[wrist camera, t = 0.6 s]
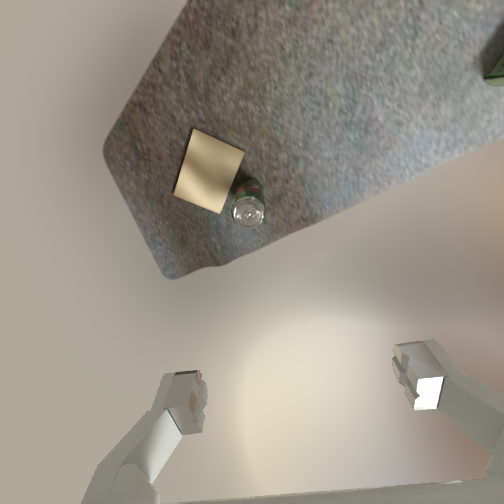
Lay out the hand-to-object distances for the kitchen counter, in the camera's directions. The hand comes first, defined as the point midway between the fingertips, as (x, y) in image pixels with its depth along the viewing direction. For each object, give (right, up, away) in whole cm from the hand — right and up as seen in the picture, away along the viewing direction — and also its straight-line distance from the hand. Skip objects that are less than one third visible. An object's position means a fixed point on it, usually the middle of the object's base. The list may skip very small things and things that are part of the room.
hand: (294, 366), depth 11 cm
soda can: (-2, +16, +38) cm, 41 cm away
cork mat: (-10, +19, +36) cm, 42 cm away
